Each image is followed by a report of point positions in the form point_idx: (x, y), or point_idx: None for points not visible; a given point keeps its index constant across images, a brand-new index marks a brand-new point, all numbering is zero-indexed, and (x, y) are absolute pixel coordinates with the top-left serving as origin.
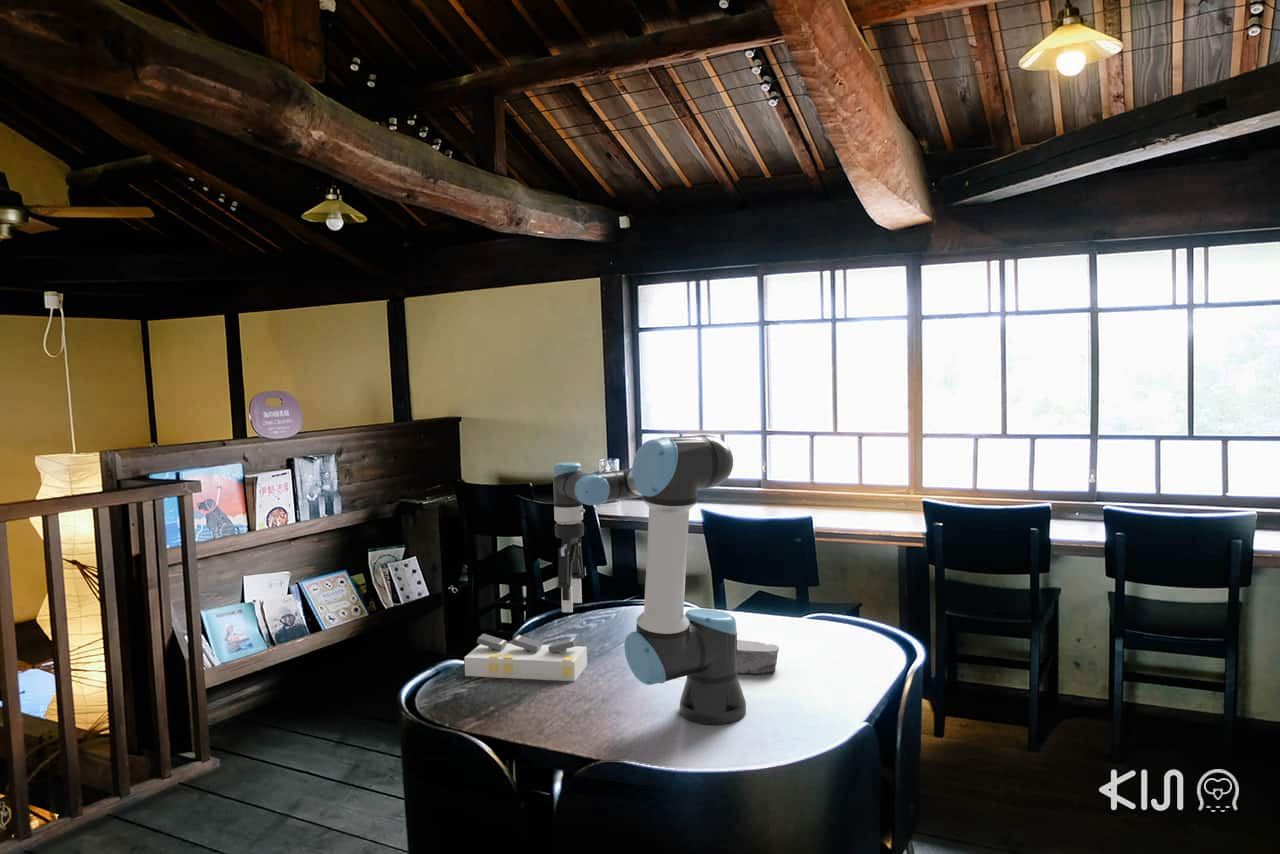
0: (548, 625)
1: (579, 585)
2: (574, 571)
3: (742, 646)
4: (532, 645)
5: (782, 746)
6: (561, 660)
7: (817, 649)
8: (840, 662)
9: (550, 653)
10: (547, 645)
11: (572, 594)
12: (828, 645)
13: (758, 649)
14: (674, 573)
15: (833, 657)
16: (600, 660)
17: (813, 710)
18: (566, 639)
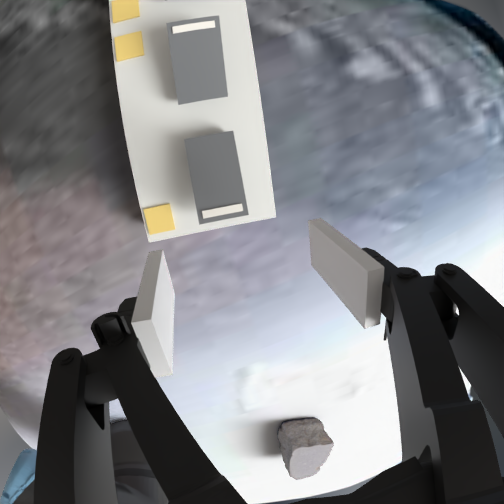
0: (461, 36)
1: (347, 303)
2: (395, 325)
3: (305, 457)
4: (176, 87)
5: None
6: (148, 203)
7: (373, 447)
8: (334, 471)
9: None
10: (256, 100)
11: (325, 241)
12: (384, 447)
13: (296, 470)
14: None
15: (348, 463)
16: (299, 221)
17: None
18: (240, 179)
